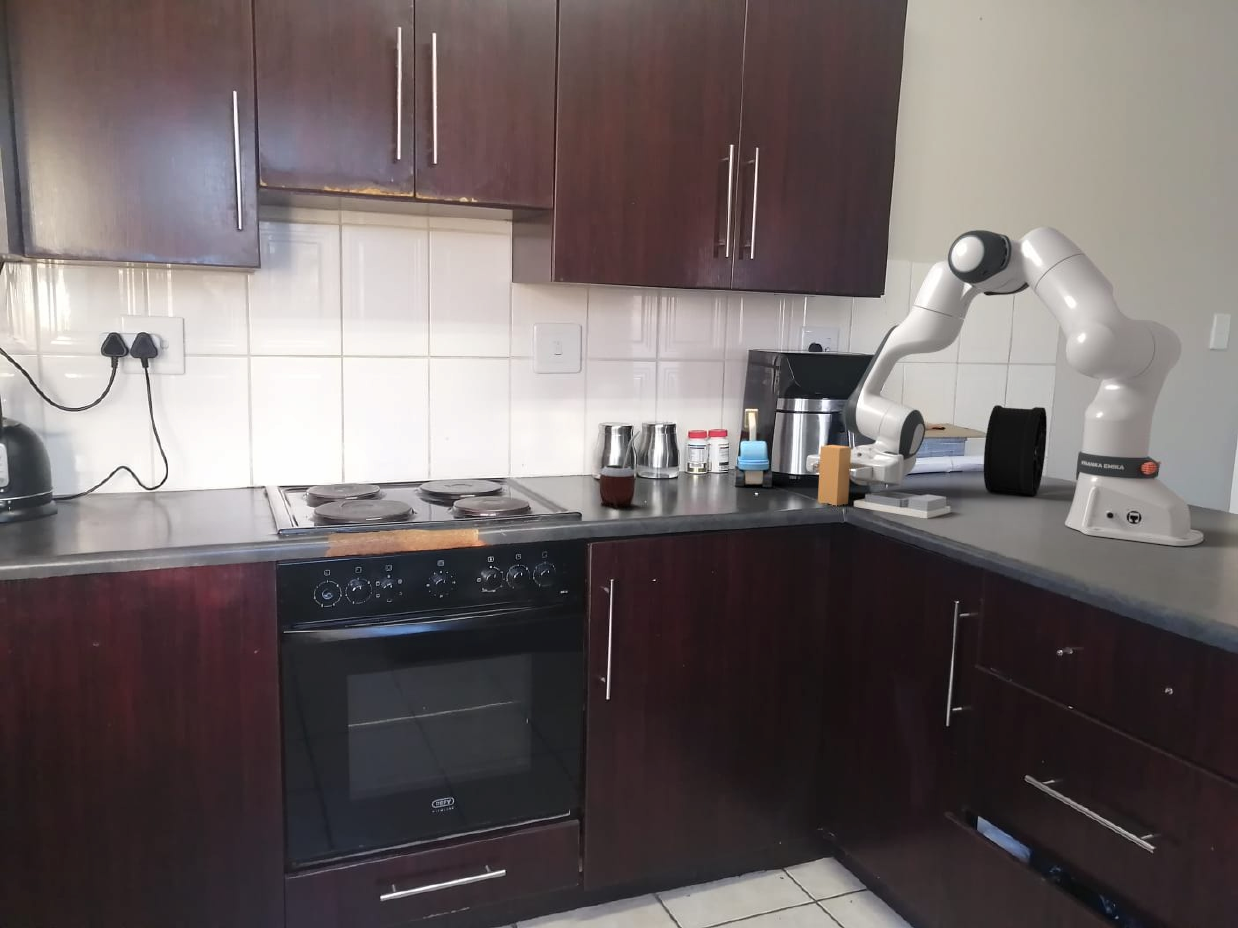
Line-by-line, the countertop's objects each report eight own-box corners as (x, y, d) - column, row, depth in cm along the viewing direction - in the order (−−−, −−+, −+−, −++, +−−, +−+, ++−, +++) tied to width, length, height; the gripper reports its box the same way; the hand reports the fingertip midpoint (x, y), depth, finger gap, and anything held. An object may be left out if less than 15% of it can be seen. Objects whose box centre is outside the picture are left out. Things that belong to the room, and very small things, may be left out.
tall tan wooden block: (847, 503, 195) (851, 447, 193) (836, 506, 192) (839, 448, 190) (829, 500, 198) (832, 444, 196) (817, 502, 195) (820, 446, 193)
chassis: (949, 512, 187) (951, 496, 187) (926, 518, 180) (927, 502, 180) (878, 501, 199) (879, 486, 198) (853, 506, 191) (854, 491, 191)
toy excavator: (768, 478, 227) (771, 408, 225) (772, 489, 211) (776, 414, 208) (732, 477, 228) (735, 407, 226) (734, 488, 212) (737, 413, 209)
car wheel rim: (1029, 501, 203) (1037, 410, 200) (980, 496, 208) (987, 407, 206) (1041, 489, 220) (1049, 405, 217) (996, 485, 225) (1003, 402, 222)
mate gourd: (596, 508, 183) (598, 433, 181) (602, 501, 191) (603, 429, 188) (634, 510, 182) (636, 434, 180) (638, 503, 190) (640, 430, 188)
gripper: (826, 446, 210) (791, 450, 200) (910, 455, 196) (877, 460, 186) (825, 473, 211) (790, 479, 201) (908, 485, 197) (875, 491, 187)
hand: (832, 470), depth 193 cm, fingers open, 8 cm apart
